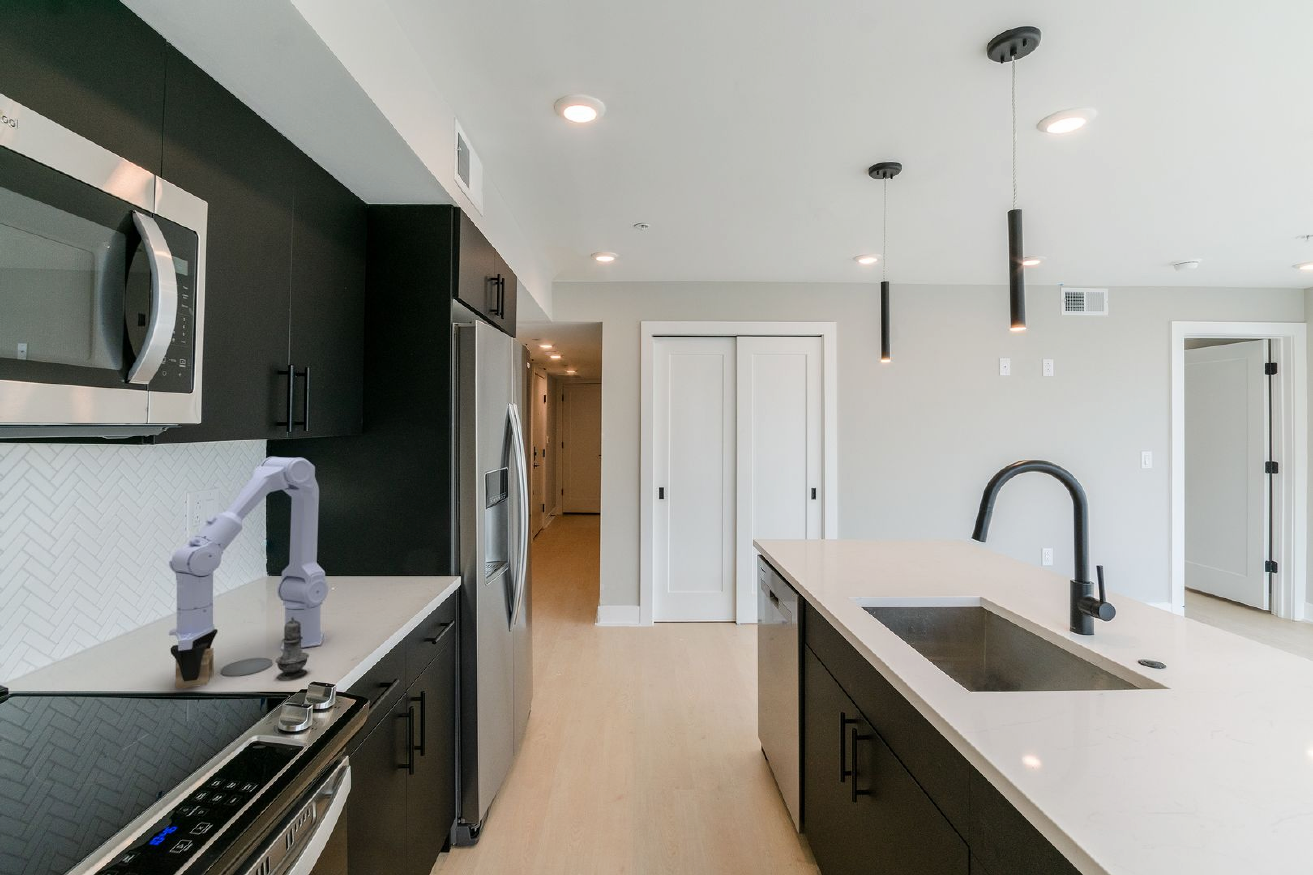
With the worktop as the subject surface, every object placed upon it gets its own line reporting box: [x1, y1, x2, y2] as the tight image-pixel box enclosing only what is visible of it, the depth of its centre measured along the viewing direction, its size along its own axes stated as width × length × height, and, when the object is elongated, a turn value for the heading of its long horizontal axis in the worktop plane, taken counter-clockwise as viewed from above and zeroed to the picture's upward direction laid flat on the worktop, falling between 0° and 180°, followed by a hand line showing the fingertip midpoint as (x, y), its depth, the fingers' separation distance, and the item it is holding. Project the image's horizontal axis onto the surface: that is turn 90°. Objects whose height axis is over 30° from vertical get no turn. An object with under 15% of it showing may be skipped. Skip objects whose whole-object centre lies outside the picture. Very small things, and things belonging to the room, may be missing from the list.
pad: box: [220, 657, 274, 677], centre depth 125 cm, size 9×9×1 cm
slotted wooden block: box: [175, 647, 215, 690], centre depth 118 cm, size 5×5×6 cm
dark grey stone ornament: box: [275, 617, 310, 681], centre depth 122 cm, size 6×6×12 cm
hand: (195, 674), depth 118 cm, fingers open, 5 cm apart
